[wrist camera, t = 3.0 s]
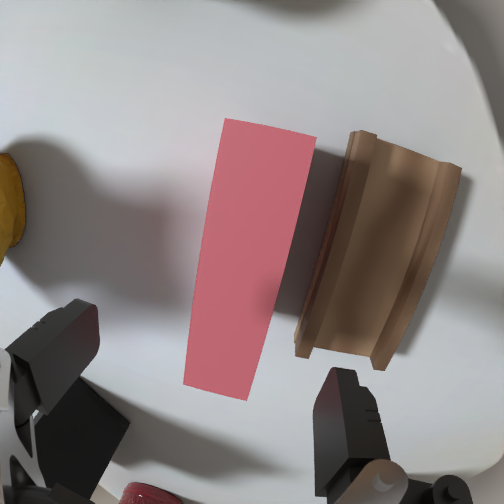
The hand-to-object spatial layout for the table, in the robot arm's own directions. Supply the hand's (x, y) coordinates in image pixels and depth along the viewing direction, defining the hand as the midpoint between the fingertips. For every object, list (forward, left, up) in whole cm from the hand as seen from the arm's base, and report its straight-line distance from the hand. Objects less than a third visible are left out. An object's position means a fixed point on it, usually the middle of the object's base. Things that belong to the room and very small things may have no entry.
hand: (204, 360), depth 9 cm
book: (0, 0, -18) cm, 18 cm away
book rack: (-10, 0, -18) cm, 20 cm away
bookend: (+23, +38, -18) cm, 48 cm away
